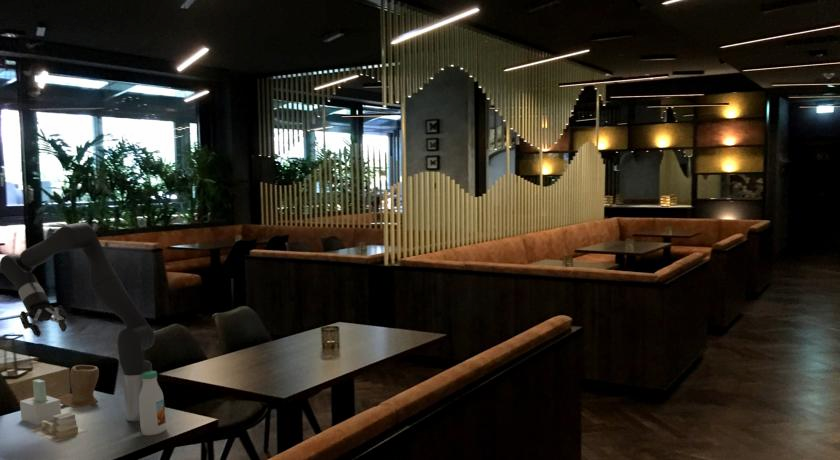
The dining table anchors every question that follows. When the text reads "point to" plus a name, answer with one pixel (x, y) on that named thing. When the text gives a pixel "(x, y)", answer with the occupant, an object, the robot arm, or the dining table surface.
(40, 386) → the tall sheet
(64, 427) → the offcut stack
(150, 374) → the milk bottle
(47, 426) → the rack
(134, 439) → the dining table surface
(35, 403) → the sheet stand
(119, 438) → the dining table surface
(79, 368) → the stone cup
